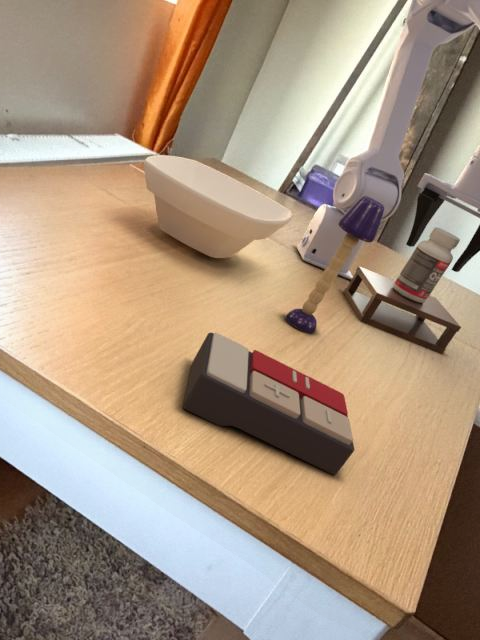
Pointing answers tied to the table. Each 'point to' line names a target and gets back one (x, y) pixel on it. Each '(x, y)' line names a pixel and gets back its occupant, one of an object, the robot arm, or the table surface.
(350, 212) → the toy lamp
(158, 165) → the bowl
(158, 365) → the table surface
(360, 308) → the rack
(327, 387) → the calculator
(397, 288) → the pill bottle
